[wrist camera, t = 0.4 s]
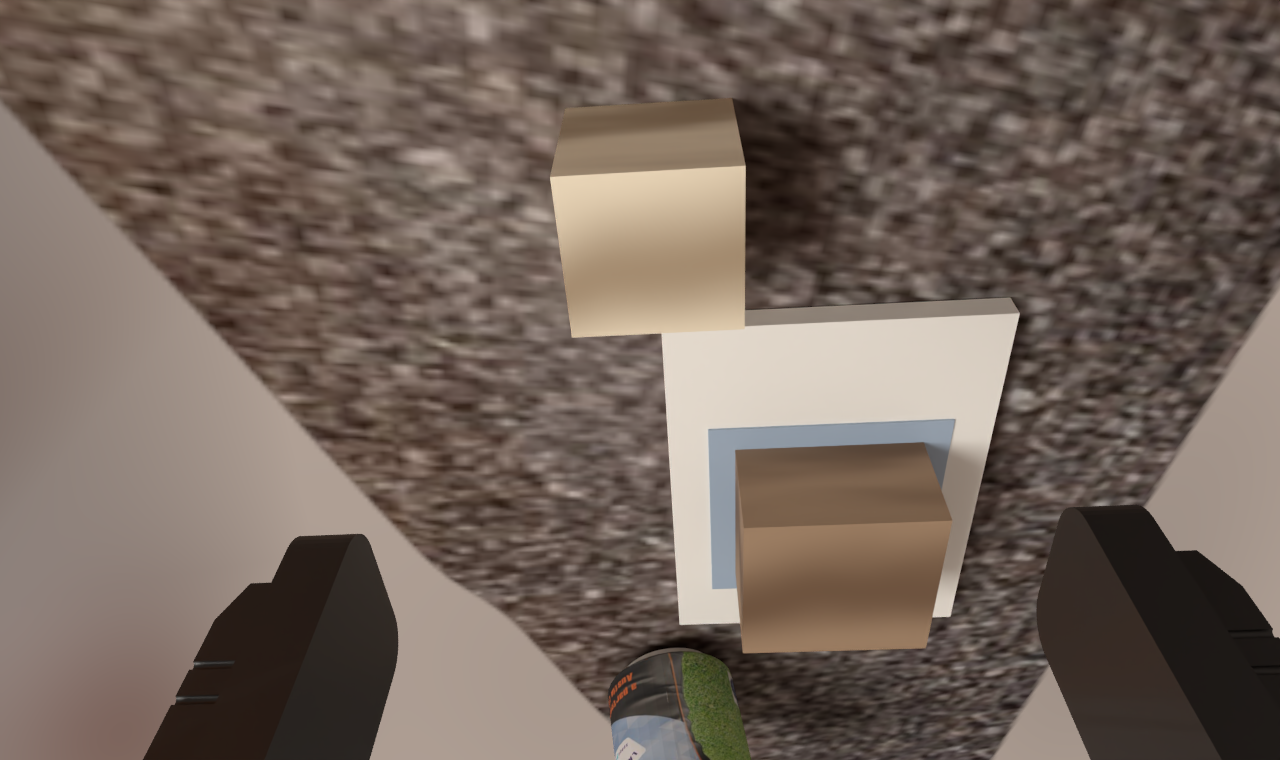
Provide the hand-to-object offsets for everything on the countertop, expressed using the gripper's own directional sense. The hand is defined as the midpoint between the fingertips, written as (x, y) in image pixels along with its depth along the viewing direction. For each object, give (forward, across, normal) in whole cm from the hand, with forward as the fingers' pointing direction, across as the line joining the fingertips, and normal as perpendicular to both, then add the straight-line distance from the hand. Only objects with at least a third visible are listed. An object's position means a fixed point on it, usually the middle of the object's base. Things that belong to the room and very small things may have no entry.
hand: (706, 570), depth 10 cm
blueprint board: (+20, -5, +16) cm, 26 cm away
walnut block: (+19, -5, +17) cm, 26 cm away
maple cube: (+19, +1, +3) cm, 20 cm away
